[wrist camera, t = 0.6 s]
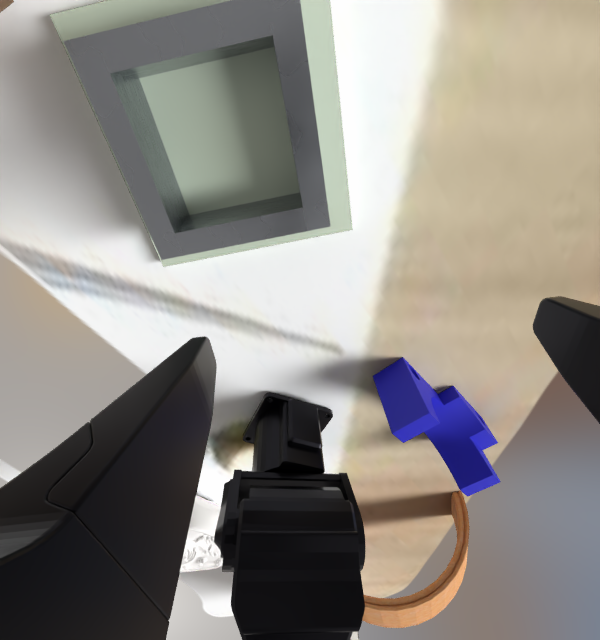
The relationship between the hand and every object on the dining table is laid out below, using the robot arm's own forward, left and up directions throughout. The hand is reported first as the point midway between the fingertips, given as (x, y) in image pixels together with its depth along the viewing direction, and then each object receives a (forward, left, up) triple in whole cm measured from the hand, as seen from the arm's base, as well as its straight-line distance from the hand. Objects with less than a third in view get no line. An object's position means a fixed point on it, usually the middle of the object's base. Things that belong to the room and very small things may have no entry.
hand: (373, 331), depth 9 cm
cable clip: (-11, -17, -14) cm, 24 cm away
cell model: (-36, -1, -14) cm, 38 cm away
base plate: (+1, +6, -13) cm, 15 cm away
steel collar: (+1, +6, -13) cm, 15 cm away
